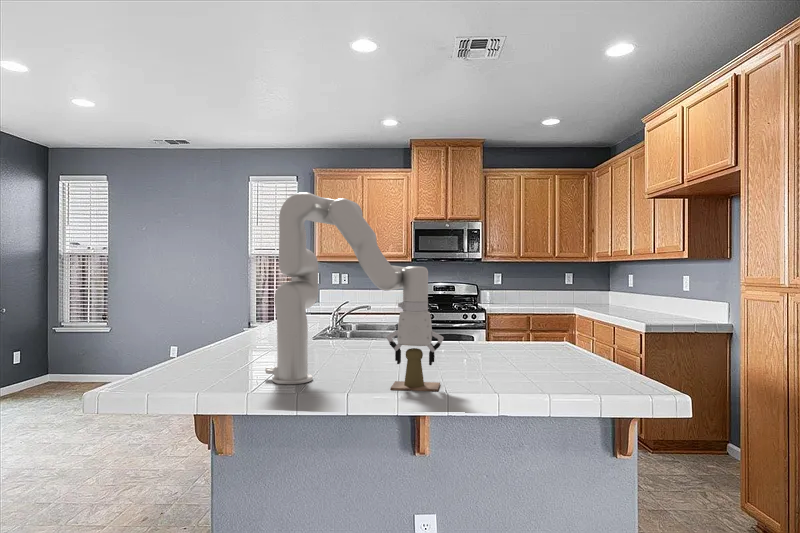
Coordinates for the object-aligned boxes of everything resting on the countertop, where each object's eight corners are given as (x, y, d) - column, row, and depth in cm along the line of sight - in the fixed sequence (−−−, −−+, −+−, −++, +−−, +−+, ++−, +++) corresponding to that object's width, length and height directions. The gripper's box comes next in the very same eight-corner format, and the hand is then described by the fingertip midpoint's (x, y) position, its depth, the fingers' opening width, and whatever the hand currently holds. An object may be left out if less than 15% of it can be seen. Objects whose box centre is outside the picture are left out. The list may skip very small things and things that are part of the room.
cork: (424, 383, 162) (424, 347, 162) (423, 387, 156) (423, 350, 156) (405, 382, 163) (405, 346, 163) (403, 387, 157) (403, 350, 157)
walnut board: (390, 389, 156) (390, 387, 156) (395, 383, 165) (395, 381, 165) (437, 391, 154) (437, 389, 154) (440, 384, 163) (440, 382, 163)
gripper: (384, 307, 157) (384, 365, 157) (443, 309, 154) (442, 367, 155) (389, 305, 164) (388, 360, 164) (444, 307, 162) (444, 362, 162)
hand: (414, 364), depth 159 cm, fingers open, 9 cm apart
